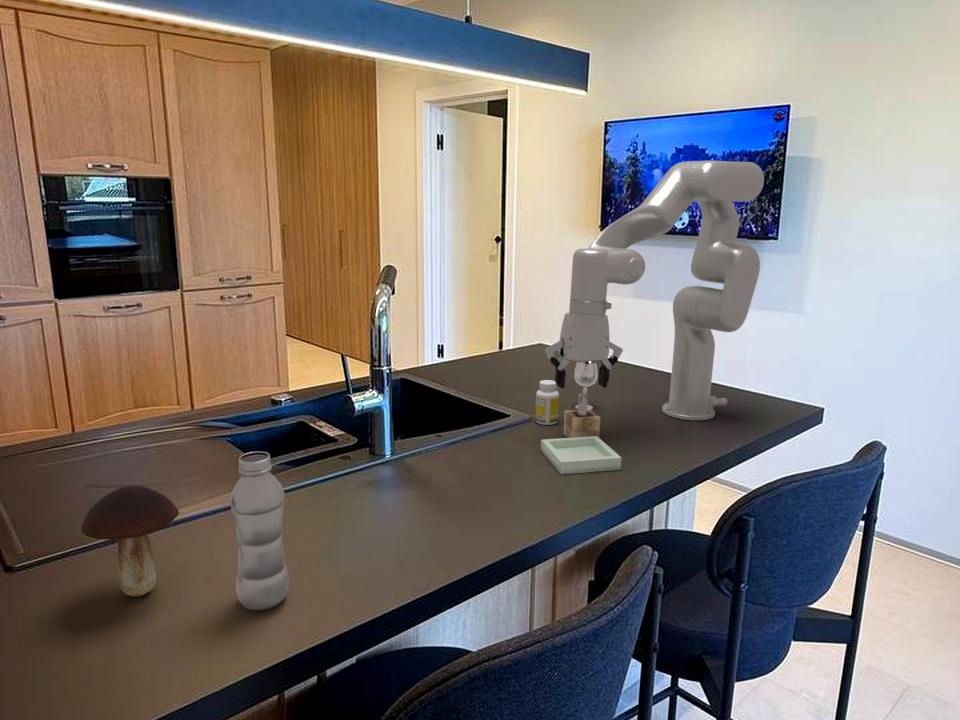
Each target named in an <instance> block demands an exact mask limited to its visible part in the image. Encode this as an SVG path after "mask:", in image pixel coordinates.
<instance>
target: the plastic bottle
mask: <svg viewBox="0 0 960 720" xmlns="http://www.w3.org/2000/svg"><path fill="white" fill-rule="evenodd" d="M238 465H239V467H238V474H239V475H240V476H241V477H240V478H239V479H238V481H237V482H236V484H235V485H234V488H233V489H232V491H231V496H230V497H229V503H230V509H231V513H232V518H233V522H234V525H235V532H236V539H237V546H238V554H237V555H238V556H237V557H238V560H237V566H238V567H237V574H236V580H235V581H236V582H235V592H236V595H237V599H238V601H239V603H240V604H241V605H242V607H244V608H245V609H247V610H251V611H262V610H263V611H264V610H268V609H271V608H273V607H276V606H278V605H279V604H280V603H282V602H283V600H284V599H285V597H286V595H287V594H288V591H289V585H290V576H289V572H288V568H287V564H286V561H285V553H284V545H283V513H284V505H285V490H284V487H283V486H282V484H281V483H280V481H279V479H277V477H275V476H274V475H273V474H272V473H271V471H272V467H273V465H272V463H271V456H270V453H269V452H267V451H261V450H260V451H259V450H258V451H250V452H246V453H244V454H242V455H240V456H239V458H238Z"/></svg>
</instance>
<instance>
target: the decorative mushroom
mask: <svg viewBox="0 0 960 720" xmlns="http://www.w3.org/2000/svg"><path fill="white" fill-rule="evenodd" d="M179 514H180V511H179V509H178V507H176V505H175V504H174V502H173V501H172V500H171V499H170V498H168V497H167V496H165V495H164V494H162V493H160V492H158V491H156V490H154V489H152V488H149V487H145V486H140V485H127V486H123V487H119V488H117V489H115V490H113V491H111V492H109V493H107V494H105V495H104V496H103V497H101V498H100V499H99V500H98V501H97V502H95V503H94V504H93V505H92V506H91V508H90V509H89V510H88V512H87V513H86V515H85V516H84V520H83V522H82V523H81V527H80V530H81V532H82V534H83V535H85V536H87V537H88V538H92V539H96V540H111V541H112V540H118V543H117V544H118V545H117V546H118V548H117V566H118V567H117V568H118V579H119V586H120V589H121V591H122V592H123V593H124V594H125V595H127V596H130V597H136V598H137V597H142V596H144V595H146V594H148V593H149V592H150V591H152V590H153V588H154V587H155V584H156V580H157V572H156V565H155V564H156V563H155V559H154V555H153V551H152V549H153V548H152V546H151V543H150V540H149V536H148V535H150V534H153V533H155V532H157V531H159V530H160V529H162V528H163V527H165V526H167V525H169V524H170V523H172V522H173V521H174V520H175V519H176V518H177V517H178V516H179Z"/></svg>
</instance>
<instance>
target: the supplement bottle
mask: <svg viewBox="0 0 960 720" xmlns="http://www.w3.org/2000/svg"><path fill="white" fill-rule="evenodd" d="M557 387H558V386H557V384H556V383H555V380H550V379H544V380H540V381H539V386H538V388H539V390H537V391H536V393H535V422H536V423H537V424H539V425H544V426H552V425H556V424H557V423H558V422H559V411H560V409H559V408H560V407H559V406H560V393H559V391H558V390H556V389H557Z"/></svg>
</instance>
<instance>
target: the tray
mask: <svg viewBox="0 0 960 720" xmlns="http://www.w3.org/2000/svg"><path fill="white" fill-rule="evenodd" d="M540 452H541V453H542V455H543V456H544V457H545V458H546V459H547V460H548V461H549V462H550V464H551V465H552V466H553V467H554V468H555V470H556V471H557V472H558V473H559V475H570V474H583V473H585V474H586V473H595V472H596V471H597V472H606V471H607V472H609V471H619V470H622V457H621V456H620V455H619V454H618V453H617V452H616V451H615V450H614V449H612V448H611V447H610V446H609V445H608V444H607V443H605V442H604V441H603V439H601V438H600V436H599V437H597V436H590V437H575V438H567V437H563V438H546V439H541V440H540ZM597 472H596V473H597Z"/></svg>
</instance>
